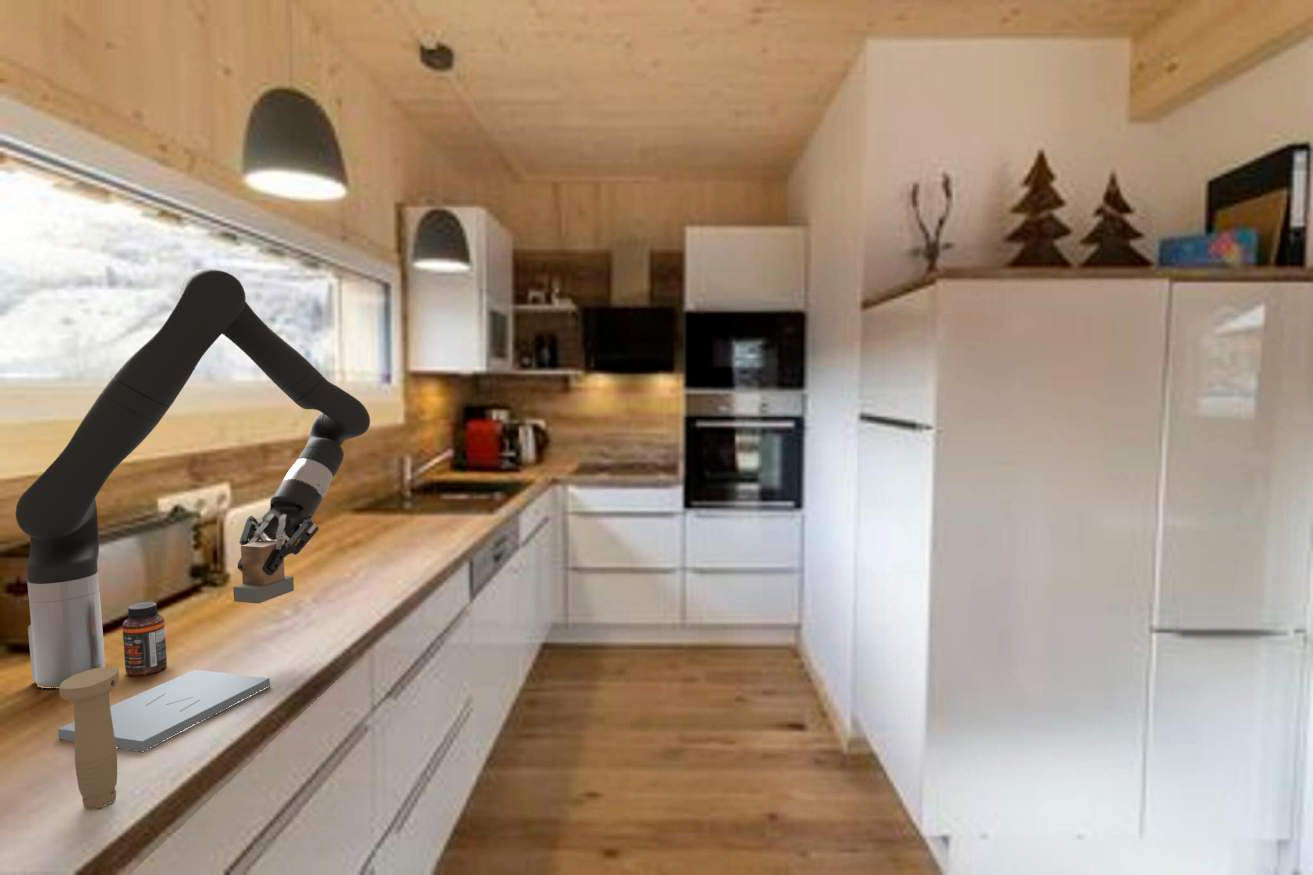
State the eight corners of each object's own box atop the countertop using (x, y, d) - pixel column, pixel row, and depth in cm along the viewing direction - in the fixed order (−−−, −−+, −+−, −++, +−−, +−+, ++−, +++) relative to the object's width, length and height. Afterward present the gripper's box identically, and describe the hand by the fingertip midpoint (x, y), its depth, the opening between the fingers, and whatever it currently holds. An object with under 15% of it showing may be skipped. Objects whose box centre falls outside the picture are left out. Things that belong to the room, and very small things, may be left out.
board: (59, 739, 107) (58, 728, 107) (195, 678, 128) (194, 669, 128) (143, 752, 102) (142, 741, 102) (270, 687, 123) (269, 677, 123)
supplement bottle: (116, 676, 129) (111, 609, 128) (144, 663, 135) (139, 599, 134) (148, 677, 129) (144, 610, 128) (175, 664, 134) (171, 600, 134)
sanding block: (234, 601, 129) (231, 548, 128) (270, 588, 137) (267, 538, 136) (258, 603, 128) (255, 549, 127) (293, 590, 135) (291, 539, 135)
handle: (137, 787, 93) (128, 665, 92) (105, 817, 87) (95, 687, 86) (94, 790, 93) (84, 668, 92) (59, 820, 87) (48, 690, 85)
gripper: (258, 476, 140) (206, 557, 129) (325, 478, 136) (276, 562, 125) (281, 500, 145) (233, 580, 135) (346, 503, 141) (302, 586, 131)
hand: (254, 571), depth 130 cm, fingers closed on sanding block, 4 cm apart
